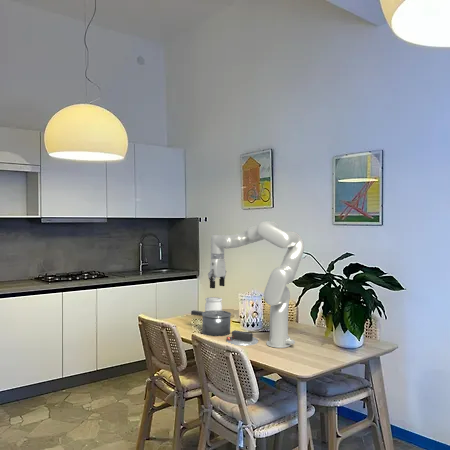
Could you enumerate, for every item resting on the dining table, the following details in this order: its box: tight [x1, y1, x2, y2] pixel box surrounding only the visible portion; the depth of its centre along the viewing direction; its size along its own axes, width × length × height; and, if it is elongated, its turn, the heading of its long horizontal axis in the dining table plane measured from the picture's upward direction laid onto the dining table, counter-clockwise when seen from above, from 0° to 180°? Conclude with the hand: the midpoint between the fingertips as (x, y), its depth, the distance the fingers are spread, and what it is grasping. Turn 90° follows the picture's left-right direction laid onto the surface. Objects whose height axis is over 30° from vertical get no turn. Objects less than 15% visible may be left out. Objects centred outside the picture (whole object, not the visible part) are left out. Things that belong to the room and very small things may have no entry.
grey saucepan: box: [190, 309, 232, 337], centre depth 259 cm, size 25×17×11 cm, turn 58°
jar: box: [204, 296, 223, 312], centre depth 282 cm, size 11×10×15 cm
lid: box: [225, 329, 259, 347], centre depth 240 cm, size 17×17×5 cm
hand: (217, 287), depth 252 cm, fingers open, 9 cm apart
